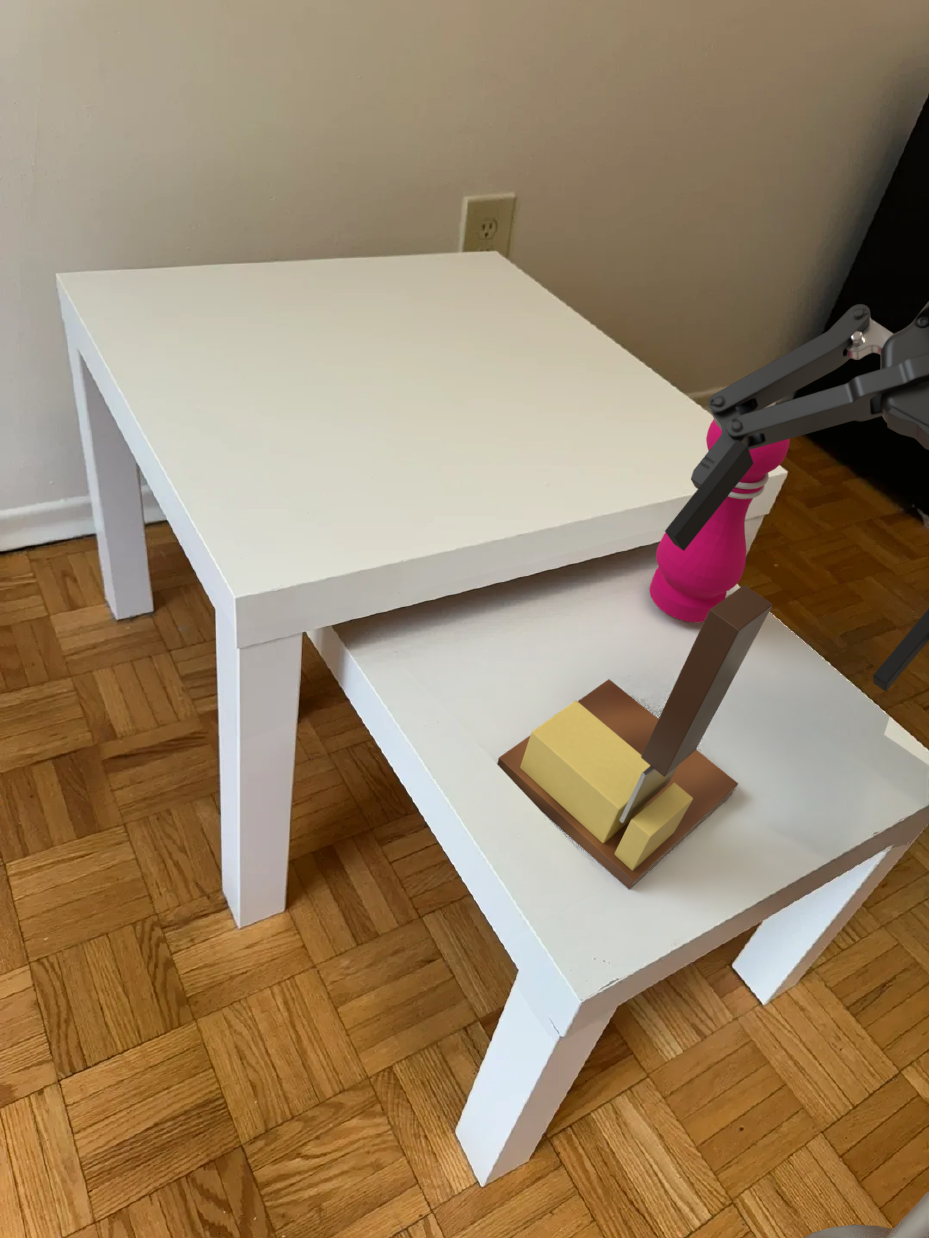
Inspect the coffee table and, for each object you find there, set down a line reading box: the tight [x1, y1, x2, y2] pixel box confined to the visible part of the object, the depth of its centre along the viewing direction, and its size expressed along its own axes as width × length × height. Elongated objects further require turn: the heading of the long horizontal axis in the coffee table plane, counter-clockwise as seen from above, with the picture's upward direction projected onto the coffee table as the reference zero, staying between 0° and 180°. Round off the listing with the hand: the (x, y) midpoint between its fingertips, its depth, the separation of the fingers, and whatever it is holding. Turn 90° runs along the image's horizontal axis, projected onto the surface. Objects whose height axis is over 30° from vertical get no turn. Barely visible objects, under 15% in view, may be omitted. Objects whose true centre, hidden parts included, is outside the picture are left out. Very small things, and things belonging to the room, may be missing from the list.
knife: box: [619, 584, 774, 823], centre depth 52 cm, size 2×5×17 cm, turn 134°
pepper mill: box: [649, 401, 791, 623], centre depth 74 cm, size 7×7×20 cm
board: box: [496, 678, 739, 890], centre depth 65 cm, size 12×12×2 cm
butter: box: [520, 700, 693, 871], centre depth 61 cm, size 10×4×4 cm, turn 44°
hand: (770, 609), depth 51 cm, fingers open, 13 cm apart
